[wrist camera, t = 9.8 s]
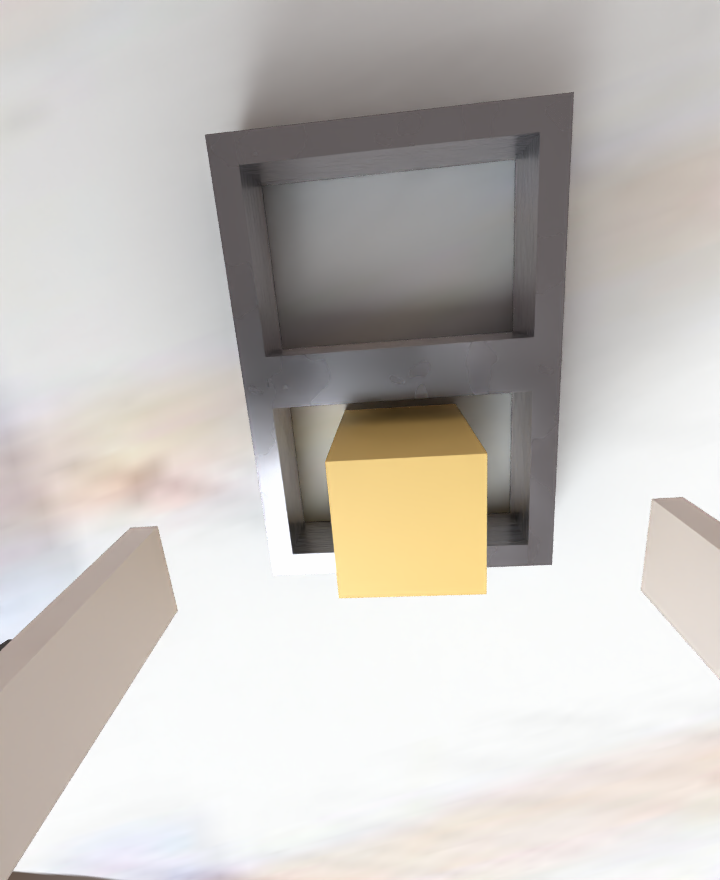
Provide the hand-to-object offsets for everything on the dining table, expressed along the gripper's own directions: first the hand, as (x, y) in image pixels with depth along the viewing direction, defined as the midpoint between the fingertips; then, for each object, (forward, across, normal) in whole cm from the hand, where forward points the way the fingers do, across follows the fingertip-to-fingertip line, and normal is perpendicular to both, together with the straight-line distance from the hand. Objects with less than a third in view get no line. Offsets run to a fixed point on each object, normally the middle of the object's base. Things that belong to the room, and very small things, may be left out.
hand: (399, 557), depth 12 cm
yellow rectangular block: (+9, 0, -1) cm, 10 cm away
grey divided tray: (+9, 0, +4) cm, 10 cm away
